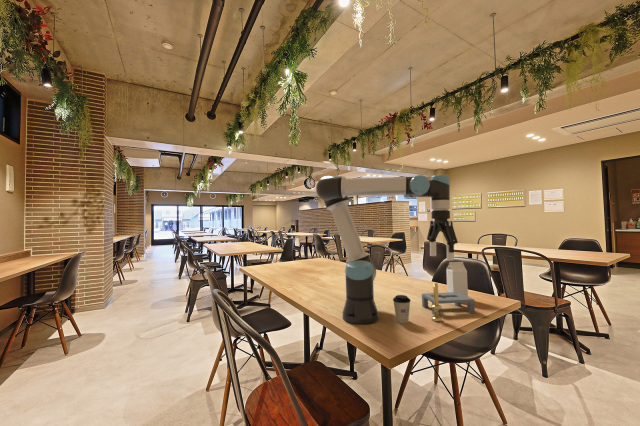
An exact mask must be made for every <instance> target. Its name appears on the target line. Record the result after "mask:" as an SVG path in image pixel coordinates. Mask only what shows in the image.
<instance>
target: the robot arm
mask: <svg viewBox="0 0 640 426" xmlns="http://www.w3.org/2000/svg"><path fill="white" fill-rule="evenodd" d="M450 186H451V185H450V176H449V175H447V174H434V175H431V177H430V179H429V178H428V177H427V176H425V175H421V174H419V175H418V174H417V175H414V176H389V177H388V176H387V177H386V176H385V177H356V178H355V177H353V178H351V177H350V178H349V177H348V178H347V177H345V176H344V175H341V176H339V175H337V176H336V175H325V176H322V177H320V179H319V180H318V181H317V183H316V186H315V192H316V194H317V195H318V197H319V198H320V199H321V200H323V202H324V205H325V208H326V210H328V211H330V212H331V215H332V218H333V221H334V223H335V226H336V229H337V231H338V235H339V238H340V241H341V243H342V245H343V248H344V251H345V253H346V254H345V255H346V257H347V259H346V261H345V263H346V265H345V270H344V273H345V294H346V295H345V297H346V299H345V303H344V306H343V309H342V319H343V320H344V322H347V323H351V324H354V325H355V324H356V325H370V324H373V323H376V322H377V321H378V320H379V317H380V316H379V311H378V308H377V305H376V302H375V297H374V295H375V293H374V281H375V279H376V276H377V269H376V266H375V264H374V262H373V261H372V259H371V257H370V253H368V252H366V251H365V249H364V247H363V244H362V241H361V238H360V236H359V233H358V230H357V228H356V224H355V222H354V219H353V216H352V214H351V211H350V209H349V206H348V205H349V202H350V200H349V197H350V196H352V197H354V196H356V197H357V196H360V197H361V196H403V197H404V198H409V199H410V198H411V199H412V198H431V199H430V201H431V204H430V205H431V220H430V221H429V229H428V232H427V237H426V240H427V241H428V242H429V256H430V257H437V238H438V237H439V236H438V235H439V234H440V232H441V233H442V234H443V237H444V239H445V241H446V261H454V260H455V258H454V257H455V244H458V238H457V236H456V235H457V234H456V232H455V227H454V225H453V223H454V222H453V220H449V219H450V218H451V211H450V208H451V205H450V204H451V203H450V193H451V188H450ZM348 196H349V197H348Z"/></svg>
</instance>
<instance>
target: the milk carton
mask: <svg viewBox="0 0 640 426" xmlns="http://www.w3.org/2000/svg"><path fill="white" fill-rule="evenodd" d="M445 271H446V293H448V292H459V293H462V294H464V295H466V296H468V297H469V292H468V291H469V290H468V288H469V287H468V270H467V268H466V267H465V264H464V261H451V262H450V261H449V262H448V265H447V267H446V270H445Z"/></svg>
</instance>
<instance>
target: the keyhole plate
mask: <svg viewBox="0 0 640 426" xmlns="http://www.w3.org/2000/svg"><path fill="white" fill-rule="evenodd" d="M438 299H439V305H441V304H442V305H443V304H454V305H455V306H456V307H462V303H466V307H467V312H468V313H469V314H475V313H476V312H475V311H476V310H475V309H476V308H475V299H474V298H472V297H470V296H469V295H468V296H466V295H464V294H462V293H459V292H448V293H447V292H438ZM429 302H430V303H431V305H432V304H434V293H433V292H431V293H430V292H429V293H428V292H427V293H421V306H422V308H424V309H426V308H429ZM431 313H432V315H434V309H432V308H431Z"/></svg>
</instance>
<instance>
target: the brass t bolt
mask: <svg viewBox="0 0 640 426" xmlns="http://www.w3.org/2000/svg"><path fill="white" fill-rule="evenodd" d="M432 288H433V289H432V291H433V292H432V293H434V304H432V303H431V310H432V309H434V314H433V315H432V316H431V321H432V322H434V323H441V322H443V317H442V316H440V310H442V305H441V304H439V299H438V293H439V283H438V282H433V283H432Z"/></svg>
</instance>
